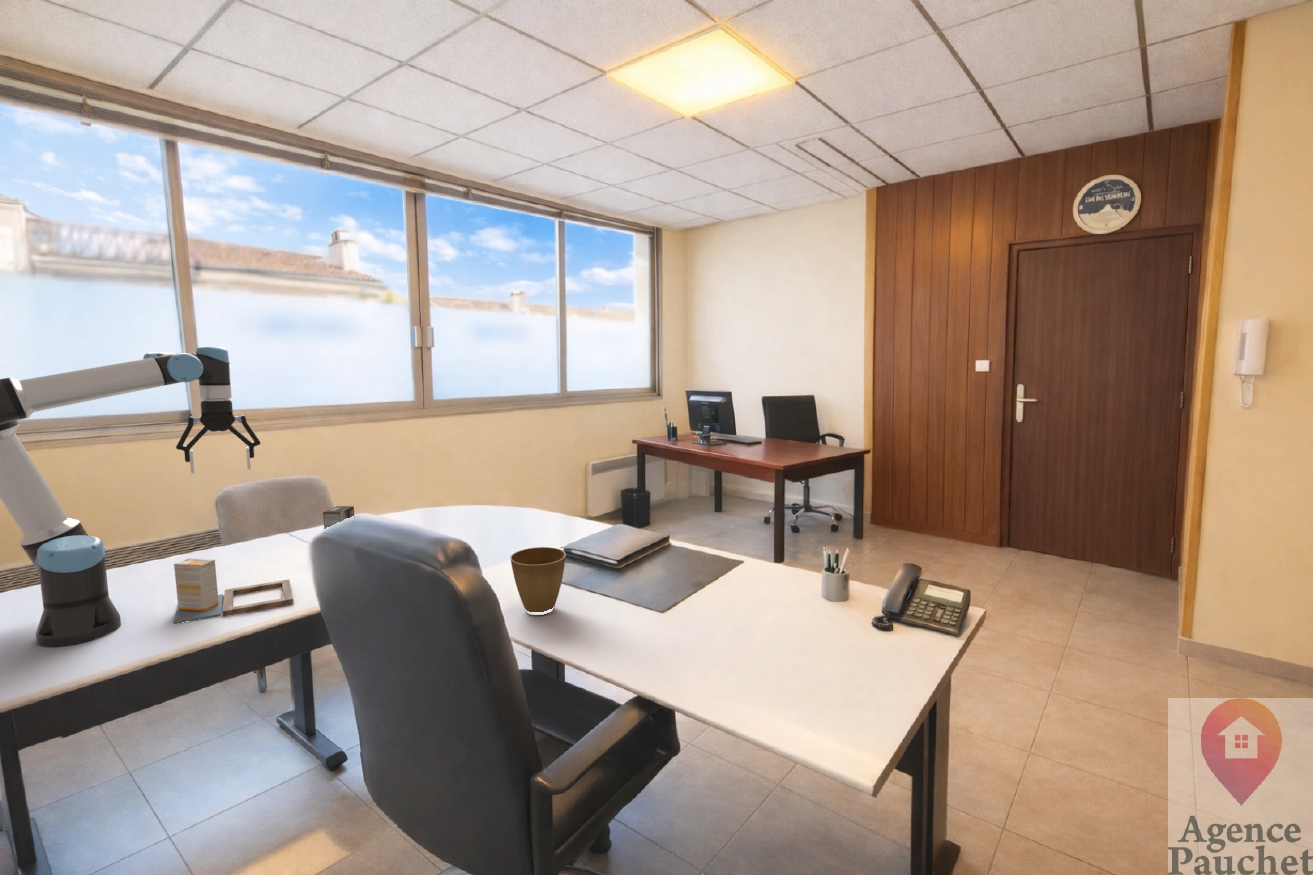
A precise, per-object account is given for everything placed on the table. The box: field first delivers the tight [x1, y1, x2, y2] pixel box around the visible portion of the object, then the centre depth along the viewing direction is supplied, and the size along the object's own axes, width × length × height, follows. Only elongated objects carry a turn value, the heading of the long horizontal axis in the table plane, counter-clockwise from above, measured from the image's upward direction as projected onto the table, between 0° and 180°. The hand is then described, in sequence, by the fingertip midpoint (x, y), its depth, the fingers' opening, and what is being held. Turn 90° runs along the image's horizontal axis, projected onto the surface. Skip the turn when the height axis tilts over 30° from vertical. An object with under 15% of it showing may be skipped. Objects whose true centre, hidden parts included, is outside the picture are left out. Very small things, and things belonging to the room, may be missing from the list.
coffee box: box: [322, 505, 355, 529], centre depth 212 cm, size 9×6×16 cm
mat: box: [172, 593, 224, 625], centre depth 163 cm, size 10×16×1 cm, turn 34°
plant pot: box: [509, 546, 567, 612], centre depth 165 cm, size 15×15×16 cm
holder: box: [222, 578, 294, 617], centre depth 171 cm, size 16×18×2 cm
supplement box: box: [173, 558, 219, 611], centre depth 163 cm, size 8×5×13 cm, turn 84°
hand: (221, 470), depth 179 cm, fingers open, 13 cm apart
